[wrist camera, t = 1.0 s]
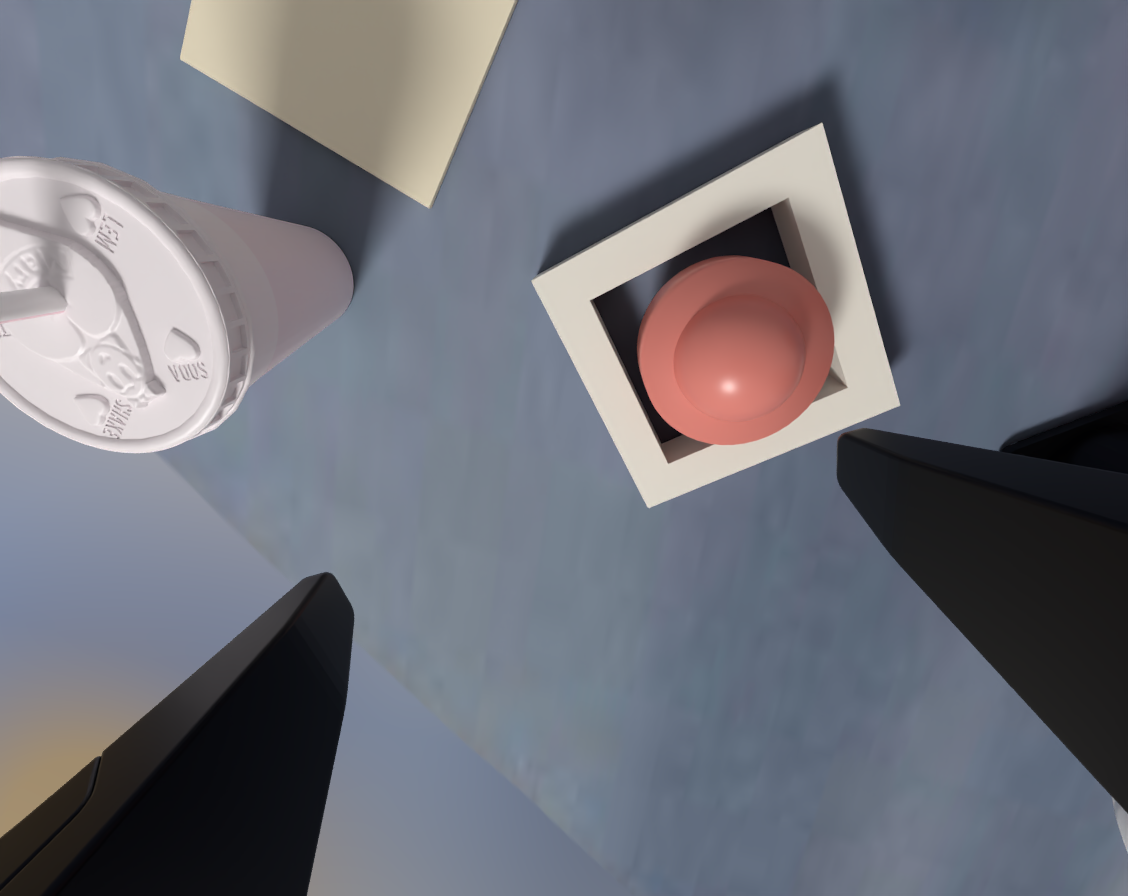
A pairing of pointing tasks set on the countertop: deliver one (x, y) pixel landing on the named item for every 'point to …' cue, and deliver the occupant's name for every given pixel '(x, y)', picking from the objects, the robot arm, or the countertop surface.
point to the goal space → (358, 73)
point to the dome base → (770, 179)
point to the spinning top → (1121, 821)
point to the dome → (734, 349)
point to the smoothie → (147, 303)
